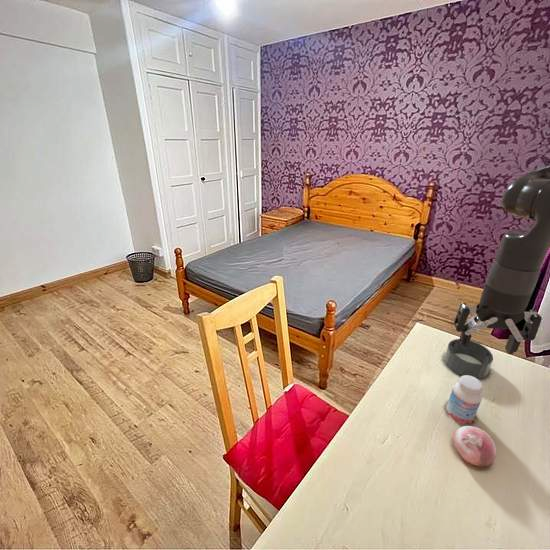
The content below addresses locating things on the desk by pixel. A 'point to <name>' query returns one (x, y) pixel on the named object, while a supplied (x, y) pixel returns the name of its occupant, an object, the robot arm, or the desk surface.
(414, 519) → the desk surface
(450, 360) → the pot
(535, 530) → the desk surface
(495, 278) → the robot arm
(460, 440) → the onion
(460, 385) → the pill bottle
